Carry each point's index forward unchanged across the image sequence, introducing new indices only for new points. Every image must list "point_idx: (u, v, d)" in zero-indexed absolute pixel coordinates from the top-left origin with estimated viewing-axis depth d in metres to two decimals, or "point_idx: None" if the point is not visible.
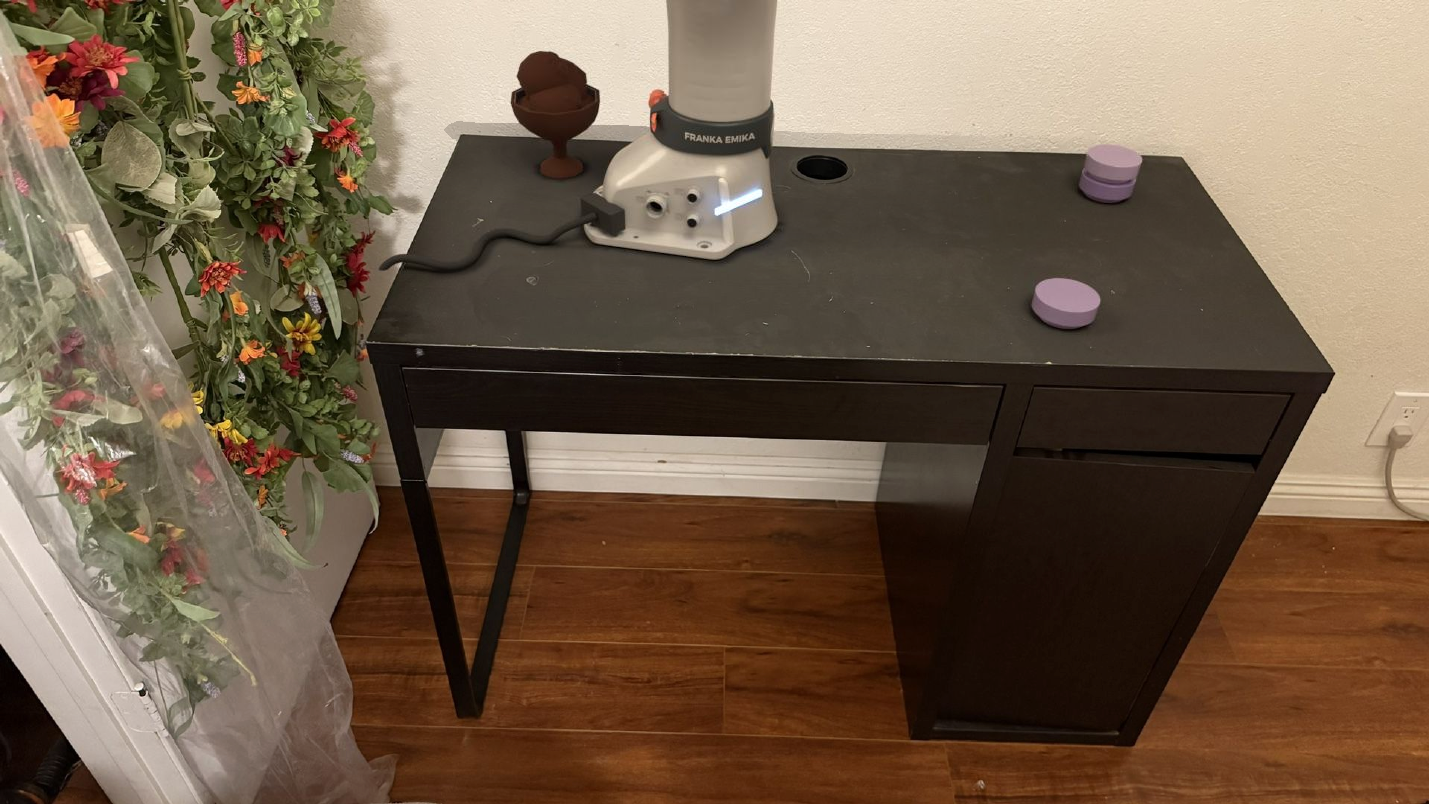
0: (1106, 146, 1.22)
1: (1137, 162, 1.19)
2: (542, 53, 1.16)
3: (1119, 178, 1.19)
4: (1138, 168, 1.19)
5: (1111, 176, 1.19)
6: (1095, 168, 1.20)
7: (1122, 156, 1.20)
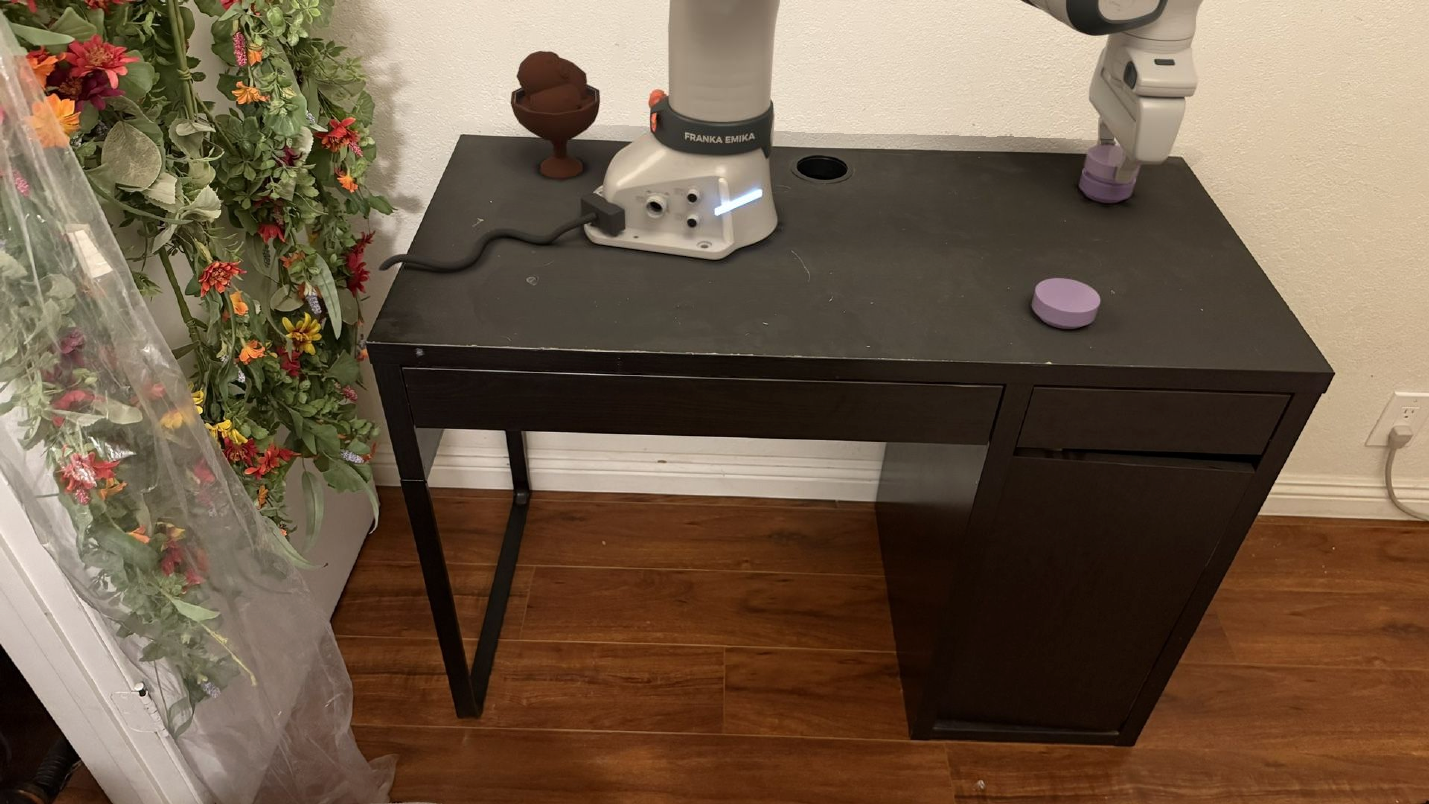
0: (1106, 146, 1.22)
1: None
2: (542, 53, 1.16)
3: None
4: (1138, 168, 1.19)
5: (1111, 176, 1.19)
6: (1095, 168, 1.20)
7: (1122, 156, 1.20)
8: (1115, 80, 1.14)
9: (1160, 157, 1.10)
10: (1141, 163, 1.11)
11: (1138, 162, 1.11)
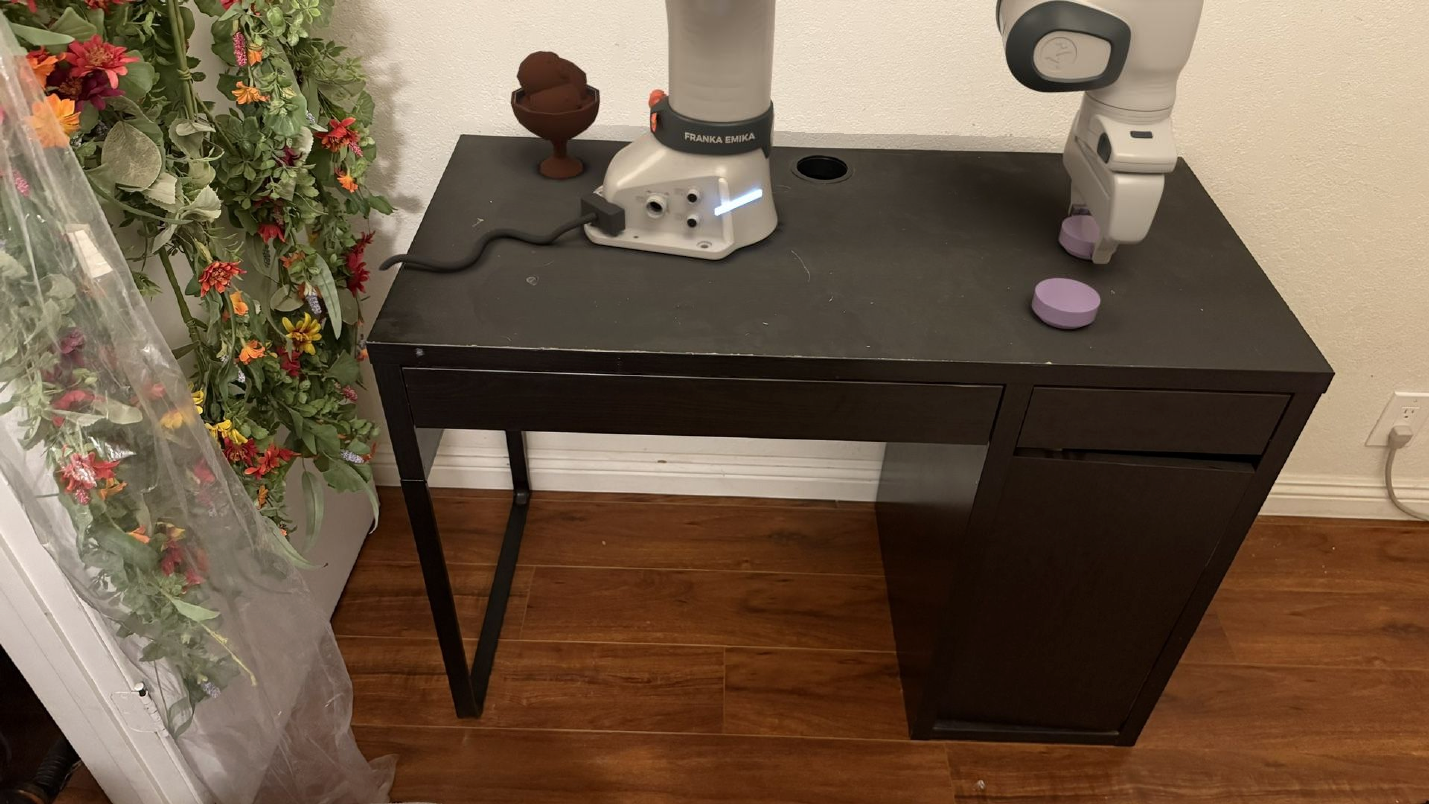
0: (1082, 217, 1.13)
1: None
2: (542, 53, 1.16)
3: None
4: None
5: (1087, 252, 1.10)
6: (1070, 243, 1.10)
7: None
8: (1089, 150, 1.04)
9: (1137, 237, 1.00)
10: (1116, 242, 1.01)
11: (1113, 241, 1.01)
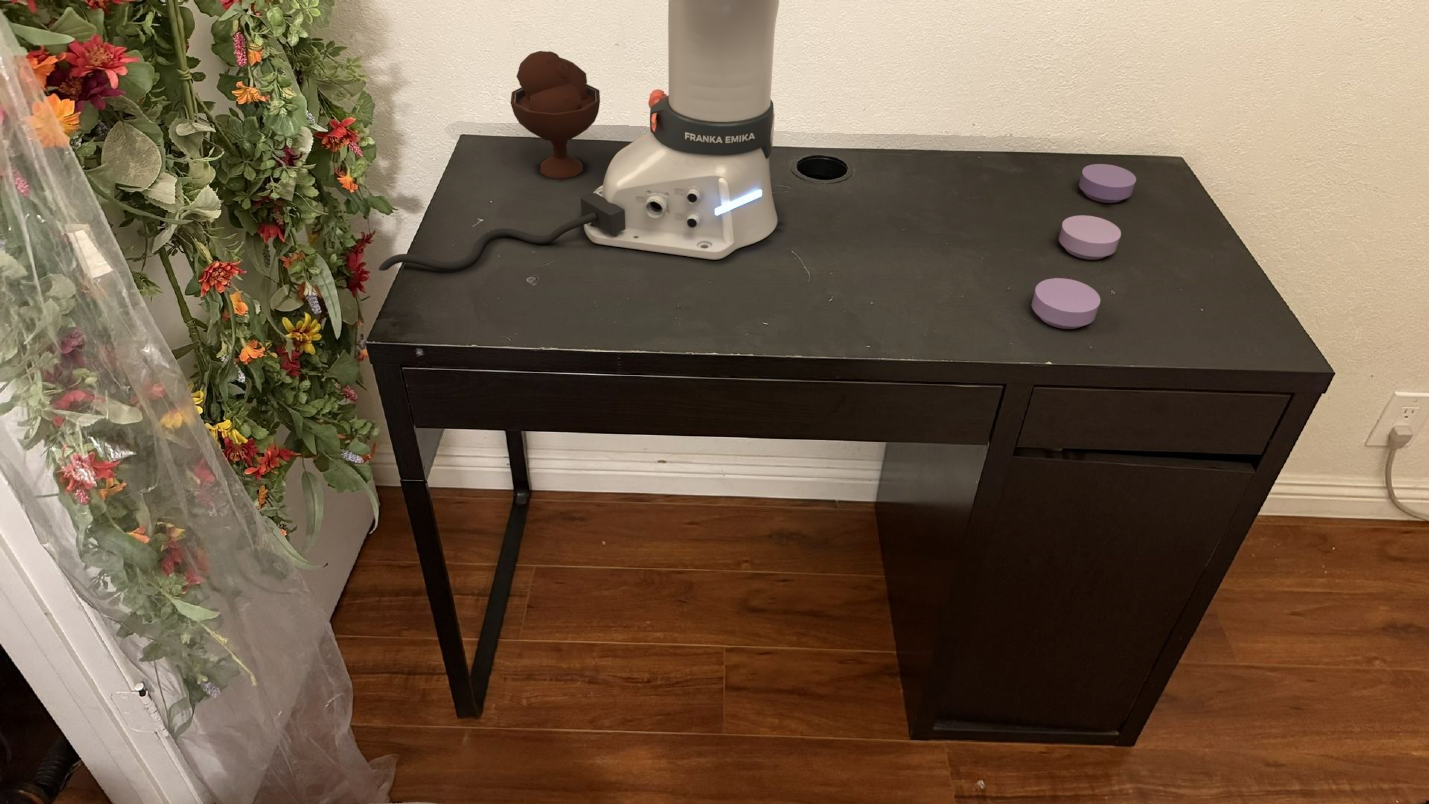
0: (1082, 217, 1.13)
1: (1115, 237, 1.10)
2: (542, 53, 1.16)
3: (1096, 254, 1.10)
4: (1116, 243, 1.10)
5: (1087, 252, 1.10)
6: (1070, 243, 1.10)
7: (1100, 230, 1.11)
8: None
9: None
10: None
11: None
